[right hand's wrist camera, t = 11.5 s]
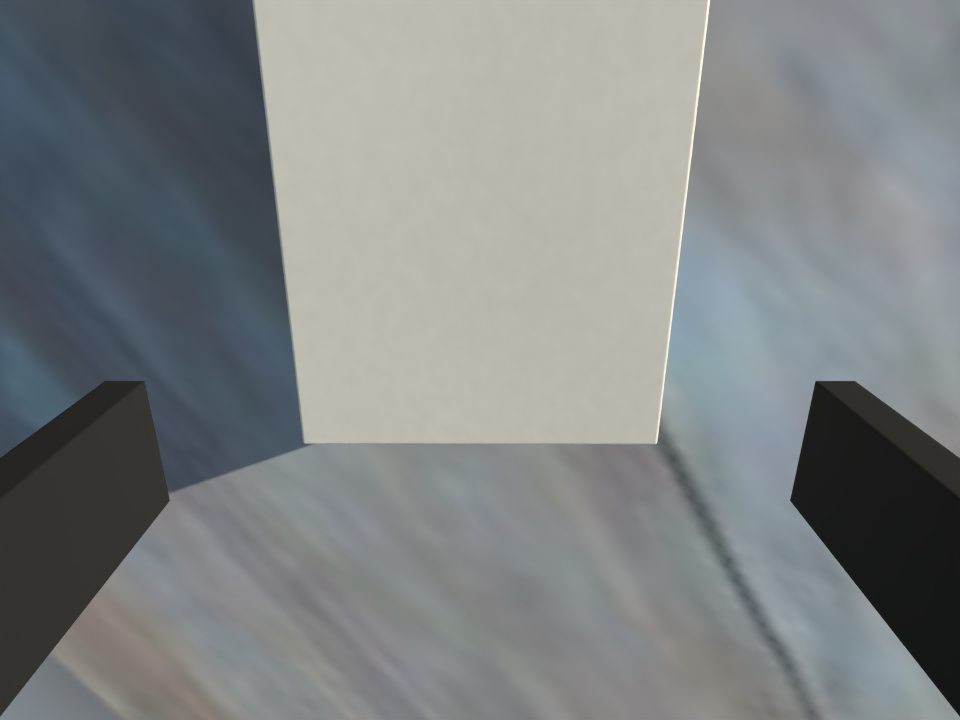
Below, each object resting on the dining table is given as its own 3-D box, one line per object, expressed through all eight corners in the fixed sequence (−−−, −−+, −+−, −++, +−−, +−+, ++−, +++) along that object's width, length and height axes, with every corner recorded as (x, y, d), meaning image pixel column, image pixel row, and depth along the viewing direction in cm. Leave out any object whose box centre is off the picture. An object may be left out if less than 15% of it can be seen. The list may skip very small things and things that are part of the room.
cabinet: (303, -320, 19) (179, -619, 11) (659, -320, 19) (785, -617, 11) (354, 345, 26) (302, 445, 19) (605, 346, 26) (657, 445, 19)
